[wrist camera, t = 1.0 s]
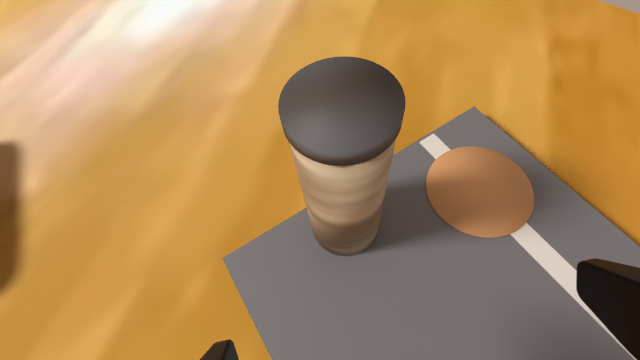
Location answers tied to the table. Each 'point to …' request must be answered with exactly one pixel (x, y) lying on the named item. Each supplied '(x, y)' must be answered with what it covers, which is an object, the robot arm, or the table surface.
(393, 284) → the subfloor panel
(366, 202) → the beige cylindrical canister
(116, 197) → the table surface
